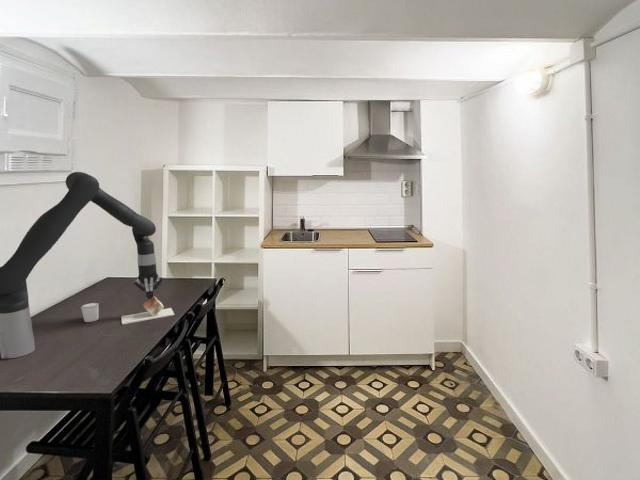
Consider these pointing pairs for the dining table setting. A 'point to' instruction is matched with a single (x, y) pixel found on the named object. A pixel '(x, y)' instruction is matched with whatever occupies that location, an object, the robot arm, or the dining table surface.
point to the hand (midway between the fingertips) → (150, 298)
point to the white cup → (90, 312)
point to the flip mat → (146, 316)
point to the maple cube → (153, 306)
